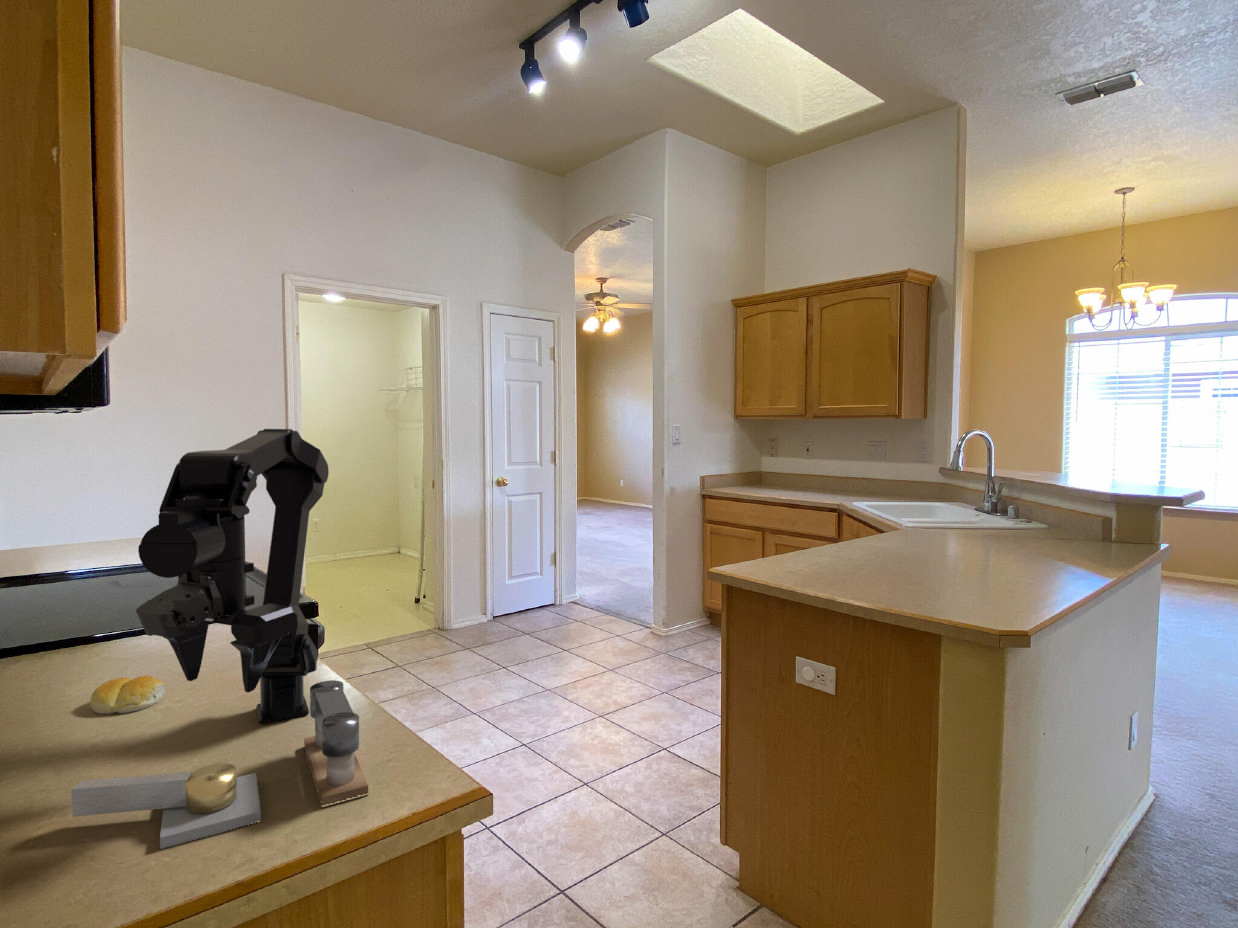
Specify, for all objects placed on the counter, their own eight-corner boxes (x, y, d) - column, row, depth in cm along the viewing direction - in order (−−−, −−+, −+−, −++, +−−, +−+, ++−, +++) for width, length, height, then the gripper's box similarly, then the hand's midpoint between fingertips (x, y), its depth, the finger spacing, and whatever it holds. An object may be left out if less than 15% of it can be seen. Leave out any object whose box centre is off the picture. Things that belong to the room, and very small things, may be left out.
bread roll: (111, 694, 103) (110, 669, 103) (173, 692, 105) (172, 667, 104) (75, 718, 95) (74, 691, 95) (142, 715, 96) (141, 688, 96)
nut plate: (165, 804, 74) (165, 794, 74) (256, 782, 79) (255, 772, 79) (160, 849, 67) (159, 837, 67) (261, 821, 71) (260, 811, 71)
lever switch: (243, 786, 76) (242, 760, 75) (227, 811, 71) (226, 783, 71) (90, 800, 72) (89, 773, 72) (63, 826, 68) (62, 797, 68)
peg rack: (304, 746, 88) (303, 708, 87) (344, 737, 90) (344, 700, 90) (321, 807, 74) (321, 763, 74) (368, 795, 77) (367, 752, 76)
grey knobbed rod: (362, 751, 77) (361, 722, 76) (324, 760, 74) (324, 730, 74) (340, 703, 89) (340, 678, 89) (308, 709, 87) (308, 683, 87)
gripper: (90, 564, 74) (95, 700, 75) (215, 580, 68) (219, 727, 69) (184, 546, 84) (187, 665, 85) (300, 559, 78) (301, 687, 79)
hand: (220, 685), depth 79 cm, fingers open, 9 cm apart
